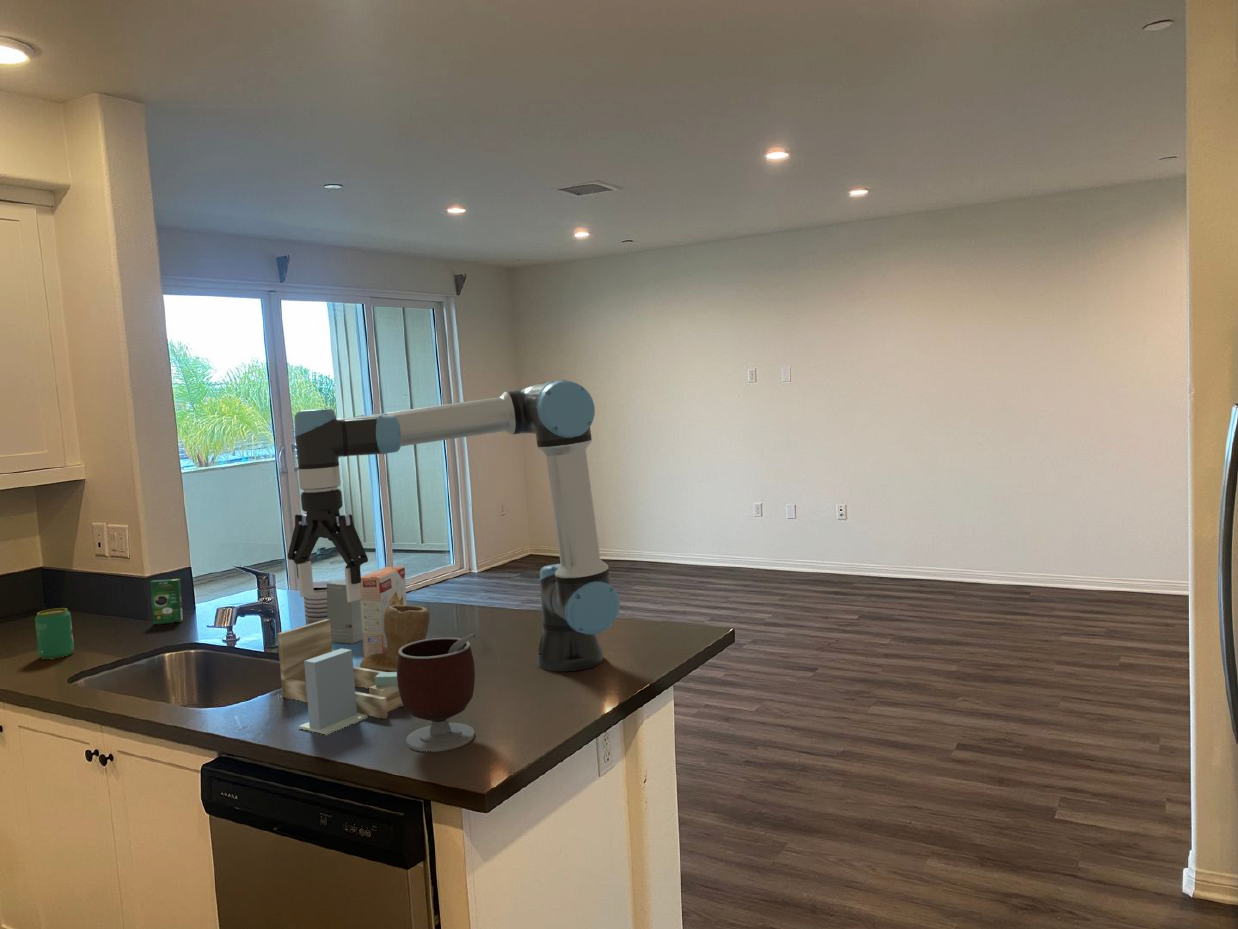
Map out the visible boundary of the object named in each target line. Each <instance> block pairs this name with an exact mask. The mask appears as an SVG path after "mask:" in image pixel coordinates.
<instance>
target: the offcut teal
mask: <svg viewBox="0 0 1238 929" xmlns="http://www.w3.org/2000/svg"><path fill="white" fill-rule="evenodd" d="M375 683H376V687H377V686H398V683H397V672H388V671H383V672H380V673H379V674H378V675H377V676H376V677H375Z"/></svg>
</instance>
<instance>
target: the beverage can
mask: <svg viewBox="0 0 1238 929" xmlns="http://www.w3.org/2000/svg"><path fill="white" fill-rule="evenodd" d="M34 623H35V632H36V634H35V635H36V640H37V641H36V642H37V650H38V656H39V657H40V659H41V658H44V659H50V658H57V657H62V656H66V657H69V656H71V655H73V652H74V650H75V646H74V645H75V644H74V635H73V634H74V633H73V626H72V615H71V612H70V611H69V610H68V608H67V607H60V608H59V607H57V608H50V609H46V610H41V611H39V612H37V613H36V616H35V618H34ZM70 654H71V655H70ZM68 655H69V656H68Z"/></svg>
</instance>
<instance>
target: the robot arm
mask: <svg viewBox="0 0 1238 929" xmlns="http://www.w3.org/2000/svg"><path fill="white" fill-rule="evenodd" d="M595 410H596V409H595V403H594V400H593V397H592V395H591V393H590V392H589V391H588V390H587V389H586V388H585V387H584V386H582V385H581V384H579V383H577V382H574V381H571V380H567V379H557V380H552V381H544V382H540V383H537V384H534V385H531V386H527V387H523V388H519V389H516V390H510V391H504V392H503V393H502V394H501V395H500V396H499V397H493V398H485V399H483V398H482V399H476V400H468V401H464V402H463V401H462V402H457V403H456V402H454V403H448V404H439V405H433V406H425V407H419V408H412V409H404V410H397V411H391V412H390V411H389V412H384V413H375V414H368V415H366V414H365V415H363V414H362V415H356V416H353V417H337V416H336V412H335V410H334V409H333V408H322V409H321V408H320V409H303V410H298V411H297V412H296V413H295V414H294V437H295V438H294V439H295V447H296V456H297V466H298V467H297V468H298V469H297V470H298V472H297V473H298V484H299V485H298V486H299V489H300V490H302V491H301V493H300V501H301V502H300V503H301V510H302V511H303V512H302V513H297V514H295V515H294V527H293V532H292V537H291V540H290V545H289V549H288V554H287V559H288V560H289V561H291V560H292V561H293V562H294V564H295V565H296V575H297V579H298V586H299V587H298V588H299V597H300V598H304V597H305V596H308V595H312V594H314V589H313V582H314V580H313V568H312V561H311V558H310V557H311V554H312V552H313V551H314V548H315V546H316V545H317V542H318V541H319V539H320V538H322V539H328V541H330V542H332V544H333V545H334V548H335V549H336V550H337V552H338V553H339V554H340V556H341V558H342V560H343V561H344V563H345V564H346V565H345V567H344V575H345V576H344V578H345V580H346V591H347V602H352V601H356V600H359V599H361V591H360V583H361V577H362V574H361V573H362V572H361V566H362V565H364V564H366V563H368V562H369V558H368V556H367V553H366V551H365V548H364V545H363V544H362V541H361V539H360V537H359V535H358V532H357V530H356V528H355V523H354V519H353V515H352V513H349V514H347V513H346V514H342V515H341V513H340V509H341V508H342V507H343V494H342V493H343V492H342V490H341V488H338V487H341V484H342V482H341V473H340V472H341V471H340V461H339V460H340V458H341V457H343V458H344V457H353V456H354V457H355V456H369V455H386V454H392V453H397V452H399V451H400V449H401V447H404V446H406V447H407V446H413V445H419V444H427V443H428V444H429V443H434V442H441V441H447V440H452V439H453V440H454V439H462V438H467V437H468V438H469V437H474V436H482V435H489V434H494V433H502V432H506V433H507V434H509V435H510V436H512V435H520V434H535V439H536V445H537V449H538V450H539V451H541V452H542V453H543V454H544V455H545V458H546V466H547V467H546V468H547V474H548V481H549V488H550V495H551V496H550V497H551V502H552V511H553V517H554V525H555V533H556V540H557V547H558V548H557V549H558V553H559V560H560V563H557V564H549V565H544V566H543V567H541V568H540V571H539V581H538V582H539V584H540V586H539V587H540V600H541V601H540V602H541V616H542V617H541V618H542V620H541V621H542V633H541V637H540V641H539V646H538V648H537V649H538V650H537V653H536V654H537V655H536V660H537V666H538V667H539V668H541V669H543V670H546V671H552V672H574V671H575V672H576V671H581V670H582V671H583V670H585V669H587V670H588V669H590V668H594V667H596V666H598V665H600V664H601V663H602V662H603V660H604V659H603V658H604V656H603V655H604V654H603V648H602V647H601V644H600V642H599V639H598V636H597V635H598V634H600V633H603V632H605V631H606V630H608V629H610V628H611V626H612V625H613V624H614V623H615V622H616V620H617V618H618V616H619V613H620V609H621V601H620V597H619V594H618V592H617V591H616V589H615V588H614V586H613V585H612V583H611V576H610V569H609V568H610V567H609V564H607V563H606V562H604V561H603V560H602V559H601V555H600V548H599V541H598V540H599V539H598V533H597V525H596V518H595V517H596V516H595V509H594V502H593V501H594V500H593V495H592V486H591V479H590V472H589V464H588V456H587V448H588V447H589V445H590V444H591V443H592V442H593V441H592V440H593V439H592V431H591V426H592V424H593V422H594V418H595V413H596V411H595ZM600 662H601V663H600ZM599 663H600V664H599Z"/></svg>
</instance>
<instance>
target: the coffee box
mask: <svg viewBox="0 0 1238 929" xmlns="http://www.w3.org/2000/svg"><path fill="white" fill-rule="evenodd" d="M149 585H150V597H151V611H152V625H153V626H155V625H156V624H157V625H164V624H165V625H166V623H167V624H175V623H174V622H179V623H182V622H183V621H184V618H183V603H182V602H183V601H182V600H183V599H182V586H181V585H182V584H181V578H172V579H154V580H151V581H150V583H149ZM182 620H183V621H182Z"/></svg>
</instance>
